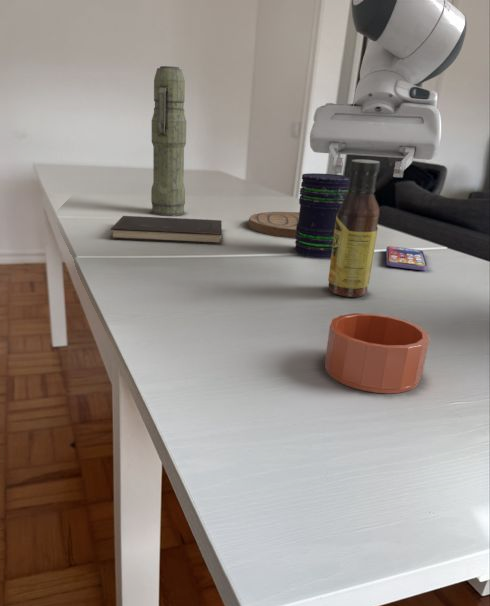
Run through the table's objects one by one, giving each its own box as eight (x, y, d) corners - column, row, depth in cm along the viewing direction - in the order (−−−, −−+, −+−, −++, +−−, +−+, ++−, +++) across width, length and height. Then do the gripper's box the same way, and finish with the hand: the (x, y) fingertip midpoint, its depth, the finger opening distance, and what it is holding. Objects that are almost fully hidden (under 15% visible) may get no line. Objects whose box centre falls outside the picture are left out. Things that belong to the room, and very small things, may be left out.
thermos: (188, 210, 152) (191, 69, 139) (179, 217, 142) (182, 65, 128) (157, 208, 154) (157, 68, 140) (146, 215, 143) (145, 64, 129)
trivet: (339, 221, 147) (340, 214, 146) (361, 241, 124) (362, 233, 123) (246, 217, 147) (247, 209, 146) (250, 236, 124) (251, 227, 123)
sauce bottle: (332, 284, 90) (349, 157, 82) (370, 291, 88) (392, 160, 80) (321, 294, 85) (338, 159, 77) (362, 302, 82) (384, 163, 75)
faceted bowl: (373, 348, 66) (380, 308, 64) (440, 383, 58) (450, 339, 56) (306, 361, 61) (311, 319, 59) (368, 401, 53) (376, 354, 51)
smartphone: (422, 254, 114) (427, 271, 101) (385, 250, 116) (385, 266, 103) (423, 250, 114) (428, 267, 100) (386, 245, 116) (386, 261, 102)
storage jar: (287, 254, 109) (294, 175, 103) (301, 245, 117) (309, 172, 112) (336, 261, 105) (347, 180, 100) (347, 251, 114) (358, 176, 108)
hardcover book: (221, 244, 115) (221, 233, 114) (111, 239, 114) (110, 228, 114) (220, 229, 129) (221, 219, 128) (123, 225, 129) (123, 215, 128)
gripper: (316, 88, 91) (300, 153, 86) (448, 92, 85) (438, 162, 81) (317, 117, 97) (302, 180, 92) (440, 123, 91) (431, 190, 86)
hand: (366, 172), depth 86 cm, fingers open, 8 cm apart
